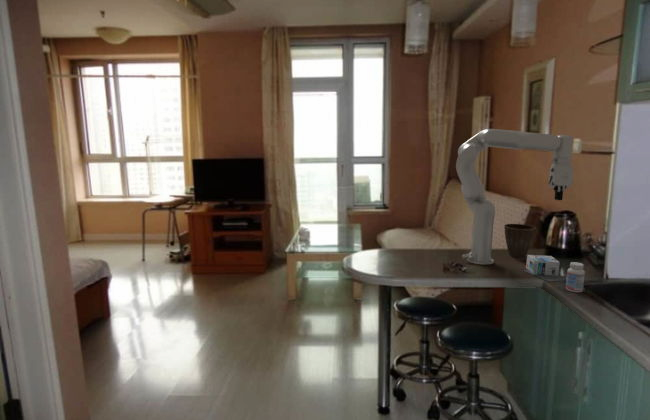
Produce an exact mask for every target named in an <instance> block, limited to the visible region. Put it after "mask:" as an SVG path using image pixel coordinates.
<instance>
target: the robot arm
mask: <svg viewBox="0 0 650 420" xmlns="http://www.w3.org/2000/svg"><path fill="white" fill-rule="evenodd" d="M573 146H574V137H573V136H572V135H569V134H568V135H567V134H560V135H556V134H550V133H540V132H539V133H536V132H527V131H521V130H520V131H519V130H509V129H508V130H507V129H500V128H499V129H497V128H486V129H483V130H481V131H479V132H477V134H475V135H474V136H472V137H471V138H469V139H467V141H465V142H464V143H462V144H461V145H460V146H459V148H458V149H457V159H456V163H455V170H456V172H457V173H456V174H457V176H458V178H459V181H460V183H461V187H460V188H461V189H460V190H461V193H462V195H463V197H464V199H465V201H466V204H467V206H468V208H469V210H470V211H471V213H473V220H472V231H471V247H470V248H471V249H470V251H469V252H468V253H466V254H465V253H464V254H462V255H461V259H467V261H468V262H469V263H471V264H475V265H481V266H482V265H484V266H487V265H488V266H489V265H493V264H494V263H495V260H494V259H493V258H492V248H493V247H492V246H493V245H492V244H493V234H494V232H493V231H494V230H493V229H494V222H495V217H496V207H495V205H494V203H493V202H492V201H491V200H489V199H487V197H486V195H485V186H484V184H483V182H482V180H481V179H480V176H479V174H478V172H477V170H476V166H475V165H476V164H475V163H476V160H477V159H478V157H479V155H480V153H482V151H484V150H485V149H486V148H488V147H489V148H500V149H501V148H502V149H512V150H534V151H535V150H536V151H543V152H553V157H552V159H551V162H552V164H551V166H550V170H549V173H548V174H549V175H548V185H549V186H548V187H549V188H551V189H552V190H553V192H554V200H556V201H563V195H564V193H565V191H566V189H568V188H570V187H571V185H573V181H574V167H573V164H572V155H573Z"/></svg>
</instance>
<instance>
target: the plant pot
mask: <svg viewBox="0 0 650 420" xmlns="http://www.w3.org/2000/svg"><path fill="white" fill-rule="evenodd" d="M503 227H504V228H503V229H504V237H505V243H506V247H507V251H508V252H507V253H508V254H509V256H510V257H512V258H517V259H518V258H519V259H522V258H525V257H527V255H528V252H529V250H530V247H531V245H532V242H533V240H534V236H535V234H536V229H537V228H536V226H533V225H529V224H522V223H507V224H504V226H503Z"/></svg>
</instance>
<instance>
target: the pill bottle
mask: <svg viewBox="0 0 650 420" xmlns="http://www.w3.org/2000/svg"><path fill="white" fill-rule="evenodd" d="M584 267H585V264H583V263H581V262H577V261H575V262H574V261H571V262H570V264H569V268H568V269H567V271H566V278H567V279H566V280H565V289H566V290H567V291H569V292H571V293H582V292H583V291H584V284H585V275H586V271H585V270H584Z"/></svg>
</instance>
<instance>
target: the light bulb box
mask: <svg viewBox="0 0 650 420" xmlns="http://www.w3.org/2000/svg"><path fill="white" fill-rule="evenodd" d="M525 269H526V270H529V271H530V272H531V273H532V274H533V275H532V274H531V275H532V276H534V275H551V276H558V275H559V270H560V261H559V260H557V259H556V258H555V257H553V256H552V255H540V254H538V255H536V254H535V255H534V254H526V265H525Z"/></svg>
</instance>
